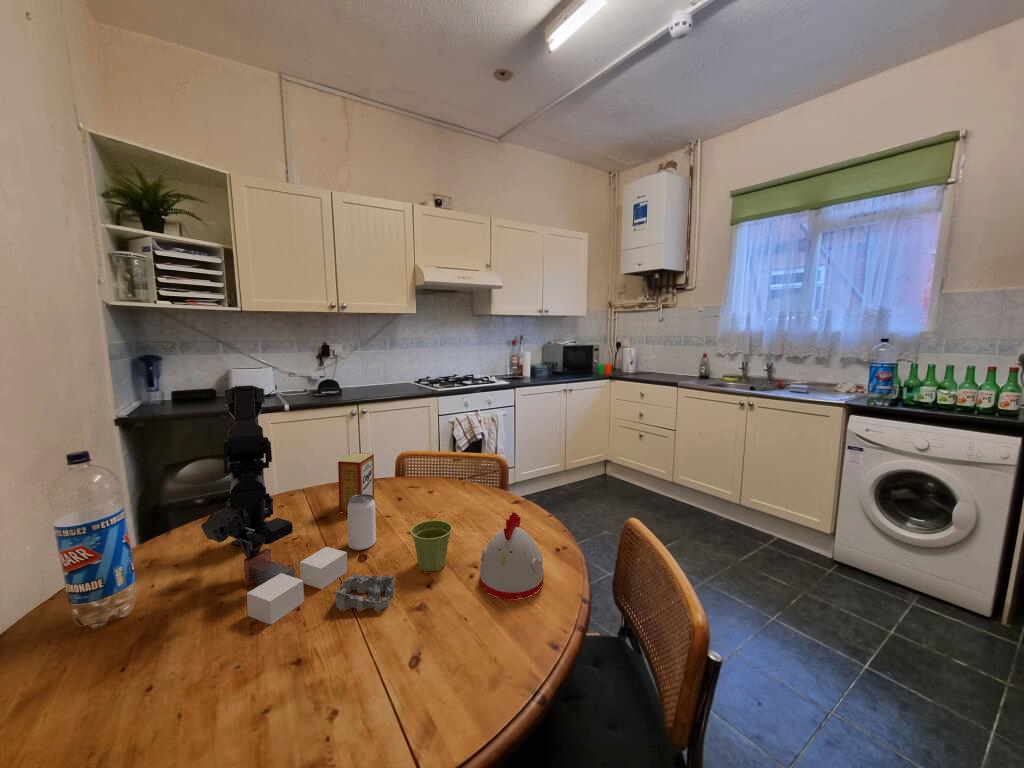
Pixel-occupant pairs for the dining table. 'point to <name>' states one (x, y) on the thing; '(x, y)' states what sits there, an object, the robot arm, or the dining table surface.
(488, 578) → the kitchen timer
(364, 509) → the can
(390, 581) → the egg carton
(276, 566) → the l-shaped block
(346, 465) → the baking soda box
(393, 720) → the dining table surface
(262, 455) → the robot arm
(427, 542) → the plant pot
